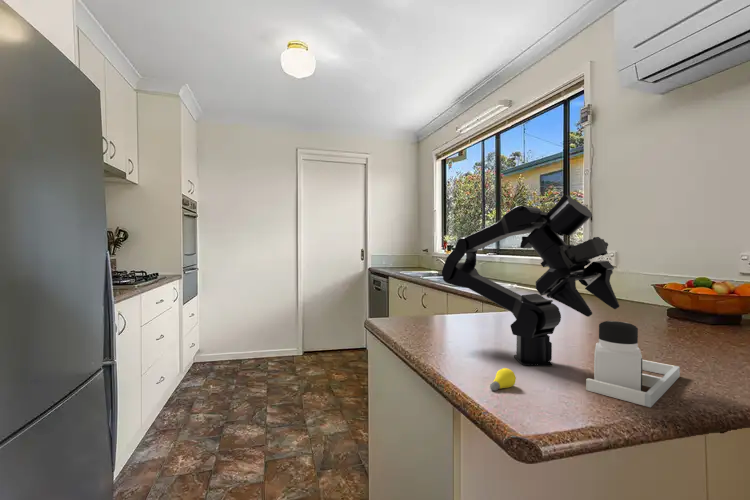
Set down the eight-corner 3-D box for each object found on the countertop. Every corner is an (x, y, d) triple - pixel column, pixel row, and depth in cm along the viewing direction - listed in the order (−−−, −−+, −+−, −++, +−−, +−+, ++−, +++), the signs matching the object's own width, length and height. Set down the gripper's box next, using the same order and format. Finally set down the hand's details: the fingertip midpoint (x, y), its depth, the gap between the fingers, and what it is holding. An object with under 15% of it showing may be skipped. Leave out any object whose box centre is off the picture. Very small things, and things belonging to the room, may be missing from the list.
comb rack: (650, 407, 60) (650, 395, 60) (586, 390, 67) (586, 379, 67) (679, 376, 75) (679, 366, 75) (624, 365, 82) (624, 356, 82)
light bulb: (518, 386, 69) (520, 371, 68) (498, 401, 66) (500, 386, 65) (502, 375, 72) (504, 361, 70) (483, 390, 69) (484, 375, 67)
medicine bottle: (642, 397, 64) (642, 328, 64) (594, 389, 68) (594, 323, 68) (639, 385, 70) (640, 321, 70) (595, 377, 74) (596, 317, 74)
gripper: (549, 226, 70) (608, 293, 62) (605, 222, 79) (663, 281, 71) (515, 263, 78) (563, 328, 69) (569, 256, 87) (618, 312, 78)
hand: (604, 311), depth 72 cm, fingers open, 9 cm apart
